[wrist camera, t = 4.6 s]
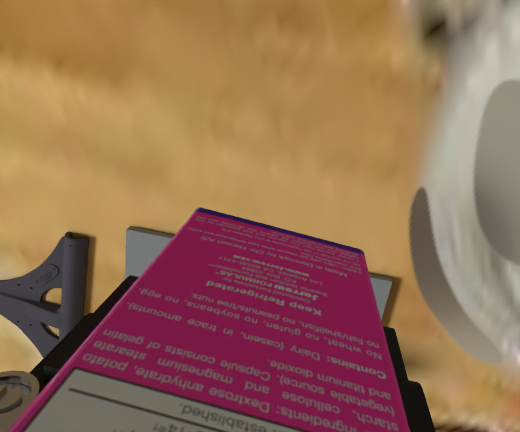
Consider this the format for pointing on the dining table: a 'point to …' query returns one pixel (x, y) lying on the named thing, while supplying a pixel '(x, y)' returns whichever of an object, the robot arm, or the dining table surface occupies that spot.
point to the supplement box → (233, 342)
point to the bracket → (34, 286)
